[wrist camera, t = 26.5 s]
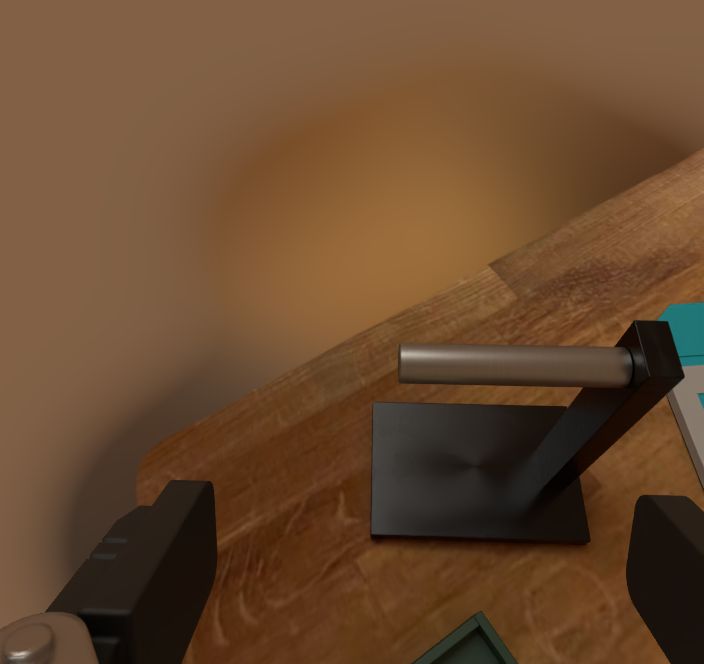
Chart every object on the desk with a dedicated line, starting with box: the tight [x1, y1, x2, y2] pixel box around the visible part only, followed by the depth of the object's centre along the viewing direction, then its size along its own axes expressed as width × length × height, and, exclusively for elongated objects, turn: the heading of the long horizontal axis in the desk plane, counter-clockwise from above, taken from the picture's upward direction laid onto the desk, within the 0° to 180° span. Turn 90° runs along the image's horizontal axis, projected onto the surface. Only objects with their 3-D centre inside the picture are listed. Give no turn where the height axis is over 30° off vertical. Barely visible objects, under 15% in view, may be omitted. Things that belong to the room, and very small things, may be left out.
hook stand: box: [371, 320, 685, 545], centre depth 34 cm, size 15×10×19 cm, turn 88°
